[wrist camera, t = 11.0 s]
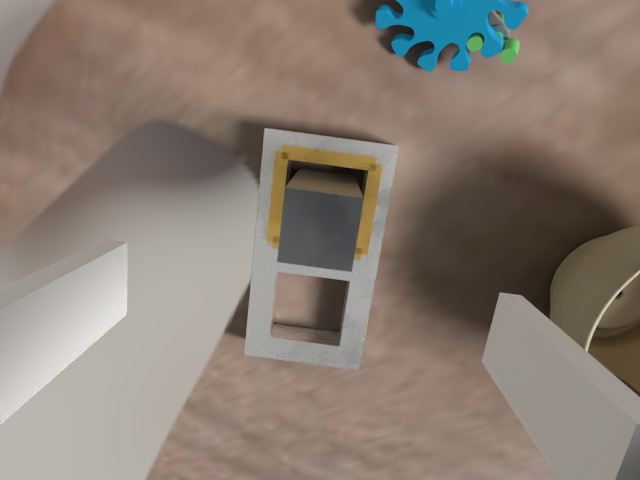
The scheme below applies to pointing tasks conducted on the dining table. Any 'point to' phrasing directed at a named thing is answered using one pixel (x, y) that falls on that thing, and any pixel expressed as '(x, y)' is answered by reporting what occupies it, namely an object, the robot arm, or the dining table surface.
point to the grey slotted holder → (303, 341)
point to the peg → (320, 220)
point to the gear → (456, 28)
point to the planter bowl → (603, 301)
